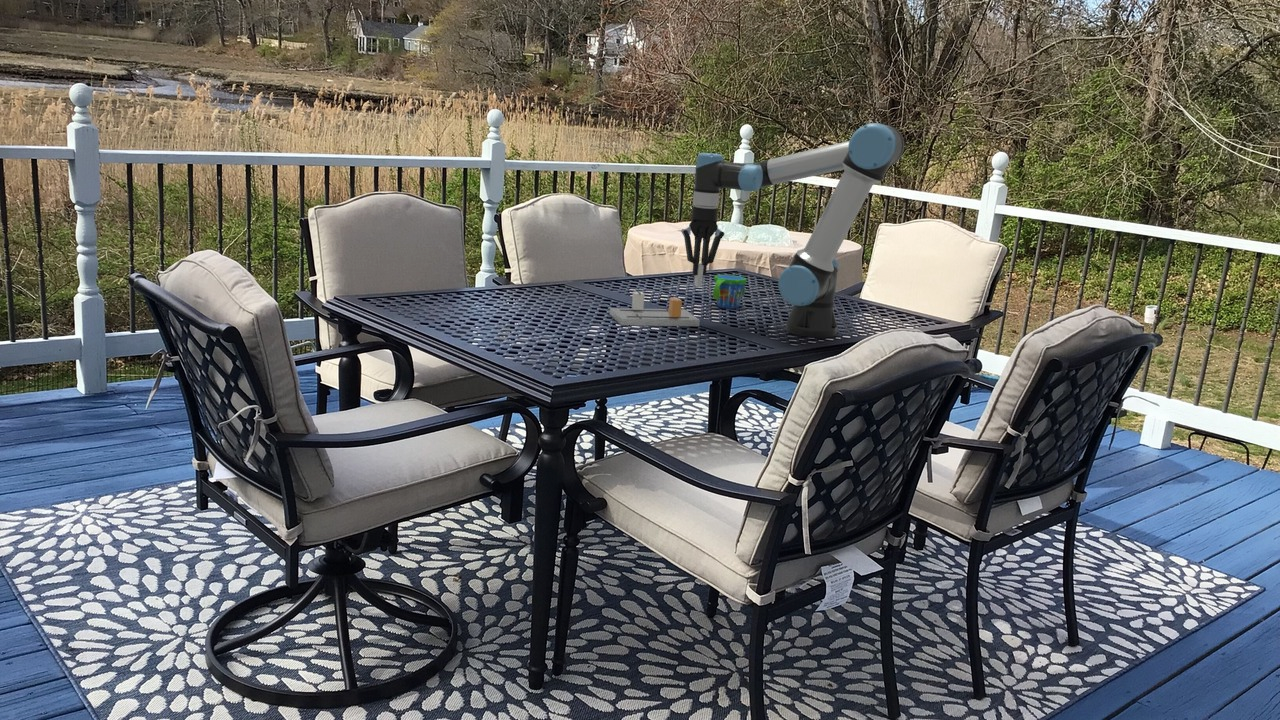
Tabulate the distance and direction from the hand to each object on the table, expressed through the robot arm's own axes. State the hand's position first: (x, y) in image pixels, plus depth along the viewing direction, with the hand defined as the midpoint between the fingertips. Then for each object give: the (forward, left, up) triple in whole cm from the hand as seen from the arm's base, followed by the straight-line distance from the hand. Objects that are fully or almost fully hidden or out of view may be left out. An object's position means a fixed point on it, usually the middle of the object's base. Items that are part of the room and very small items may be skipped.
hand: (698, 285), depth 293 cm
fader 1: (+10, +16, -9) cm, 21 cm away
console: (+5, +12, -12) cm, 17 cm away
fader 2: (0, +7, -9) cm, 11 cm away
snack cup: (+28, -20, -12) cm, 37 cm away
